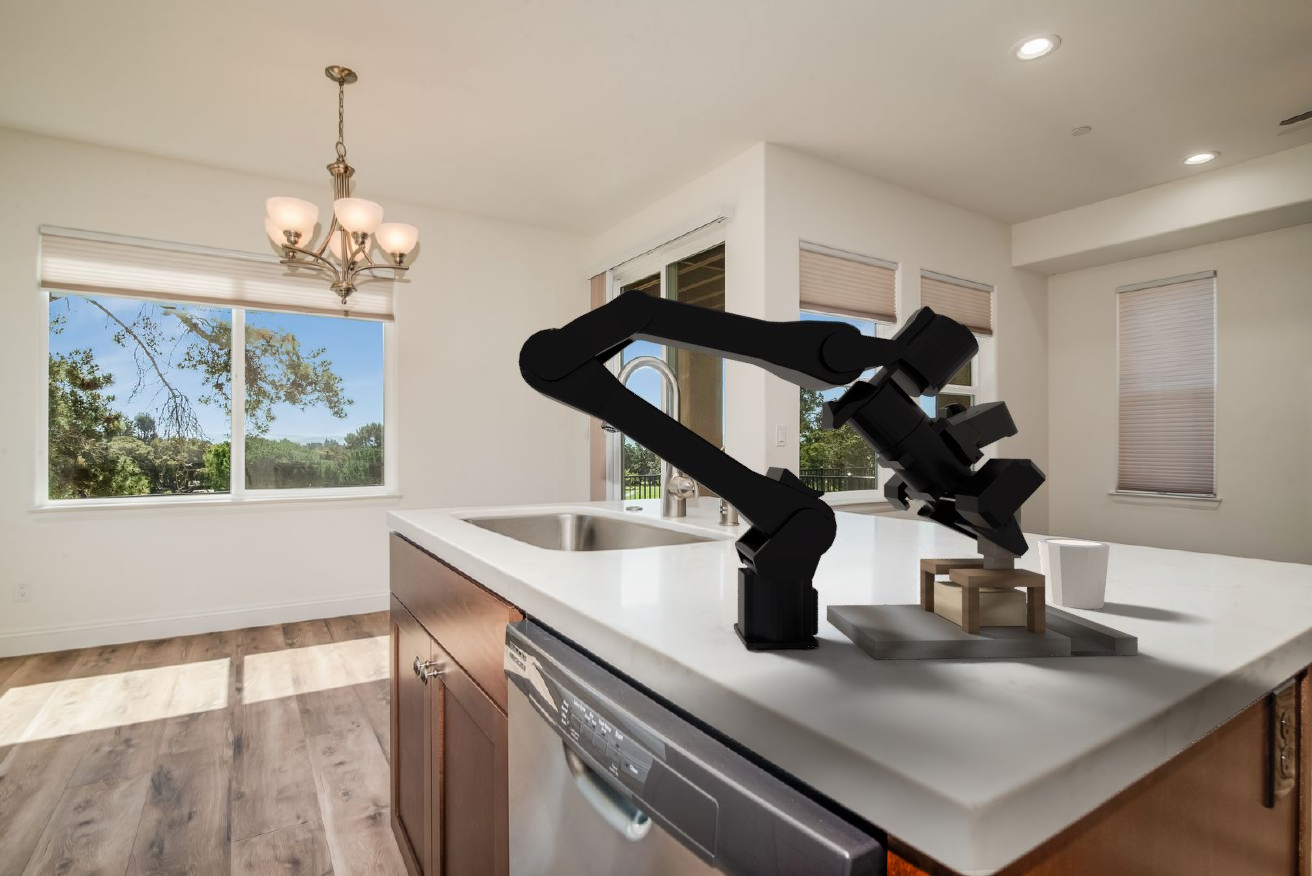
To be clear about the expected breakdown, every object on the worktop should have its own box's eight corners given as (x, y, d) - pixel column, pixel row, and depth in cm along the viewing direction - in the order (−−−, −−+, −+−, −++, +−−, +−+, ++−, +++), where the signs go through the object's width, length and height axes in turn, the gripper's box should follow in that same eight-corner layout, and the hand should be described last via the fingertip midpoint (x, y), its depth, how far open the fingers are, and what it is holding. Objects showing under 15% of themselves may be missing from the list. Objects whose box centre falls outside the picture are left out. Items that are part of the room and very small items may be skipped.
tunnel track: (875, 659, 52) (875, 581, 52) (826, 620, 64) (826, 556, 64) (1137, 655, 54) (1137, 578, 54) (1042, 617, 66) (1041, 555, 66)
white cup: (1027, 600, 73) (1027, 540, 73) (1054, 593, 77) (1053, 536, 77) (1095, 613, 67) (1094, 548, 67) (1120, 604, 71) (1119, 543, 71)
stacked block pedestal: (962, 626, 56) (961, 493, 56) (934, 612, 61) (933, 490, 61) (1028, 625, 57) (1028, 493, 57) (995, 611, 62) (994, 490, 62)
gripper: (1021, 357, 50) (1154, 496, 50) (911, 382, 68) (1008, 483, 69) (926, 456, 49) (1061, 595, 50) (840, 454, 68) (939, 555, 68)
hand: (1012, 549), depth 59 cm, fingers closed on stacked block pedestal, 3 cm apart
